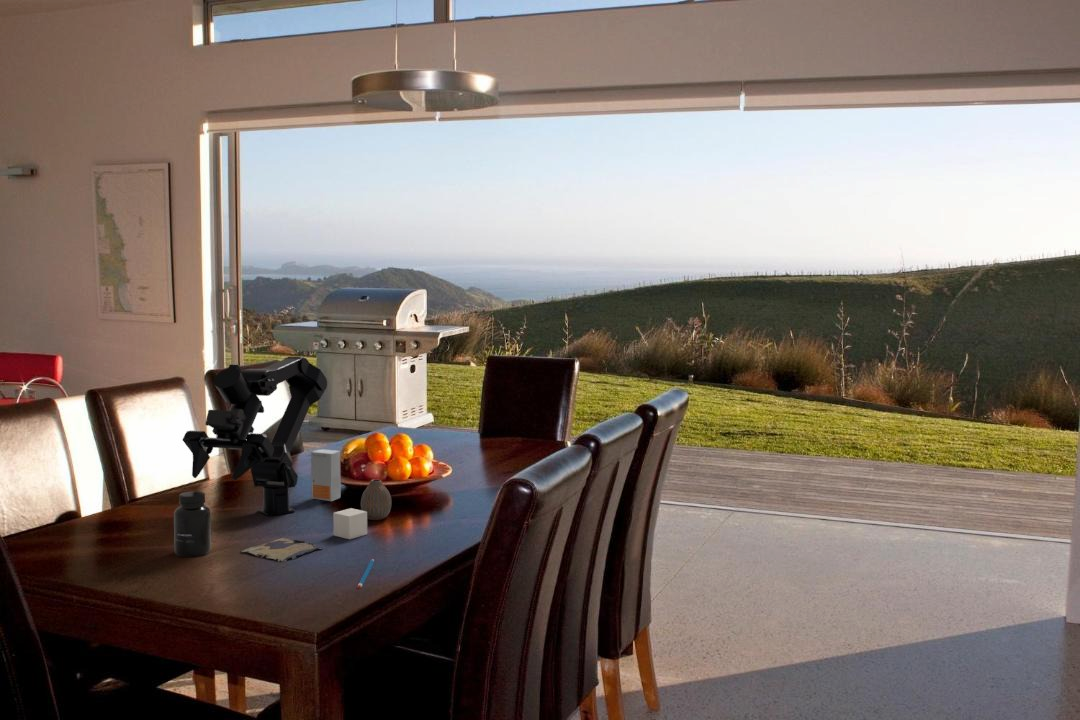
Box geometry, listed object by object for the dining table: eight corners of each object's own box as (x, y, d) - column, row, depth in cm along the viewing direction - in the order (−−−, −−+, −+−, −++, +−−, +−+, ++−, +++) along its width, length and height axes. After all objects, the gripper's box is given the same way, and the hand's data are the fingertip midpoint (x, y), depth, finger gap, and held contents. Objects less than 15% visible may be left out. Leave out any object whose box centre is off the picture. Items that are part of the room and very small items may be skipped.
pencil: (356, 589, 166) (356, 586, 166) (371, 561, 183) (371, 557, 183) (361, 589, 167) (360, 585, 166) (375, 560, 184) (375, 557, 183)
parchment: (282, 564, 181) (282, 559, 181) (236, 554, 188) (236, 549, 187) (328, 549, 191) (328, 544, 191) (283, 539, 198) (283, 535, 198)
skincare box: (310, 499, 232) (310, 451, 231) (321, 495, 236) (320, 448, 235) (331, 501, 230) (330, 453, 229) (341, 498, 234) (340, 450, 232)
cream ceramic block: (333, 535, 200) (333, 512, 200) (351, 530, 204) (351, 508, 204) (349, 539, 197) (349, 516, 197) (367, 534, 201) (367, 511, 201)
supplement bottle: (176, 559, 183) (174, 499, 181) (172, 550, 189) (170, 491, 188) (213, 555, 186) (212, 495, 185) (208, 546, 192) (207, 488, 191)
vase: (385, 522, 210) (384, 484, 210) (356, 521, 212) (355, 482, 211) (395, 515, 217) (395, 477, 216) (367, 513, 219) (367, 476, 218)
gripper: (186, 393, 199) (155, 453, 190) (266, 396, 195) (239, 458, 186) (208, 424, 208) (180, 483, 198) (285, 427, 204) (260, 488, 194)
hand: (213, 478), depth 194 cm, fingers open, 9 cm apart
